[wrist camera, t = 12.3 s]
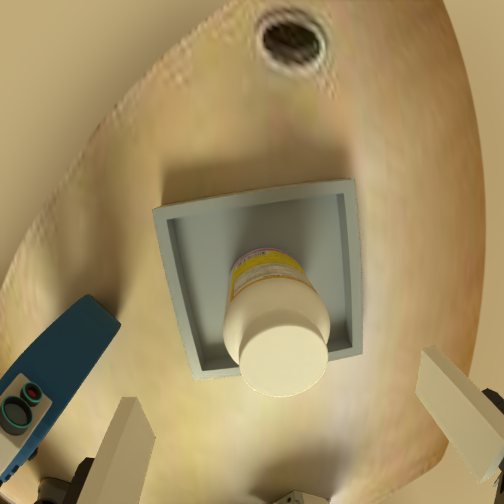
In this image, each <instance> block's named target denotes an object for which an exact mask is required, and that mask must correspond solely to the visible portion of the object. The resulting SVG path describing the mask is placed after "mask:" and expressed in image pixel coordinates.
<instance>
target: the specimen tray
mask: <svg viewBox="0 0 504 504" xmlns="http://www.w3.org/2000/svg"><path fill="white" fill-rule="evenodd" d="M152 213H153V218H154V223H155V228H156V233H157V238H158V243H159V247H160V252H161V257H162V261H163V266H164V270H165V274H166V279H167V283H168V287H169V291H170V295H171V299H172V303H173V307H174V311H175V315H176V319H177V323H178V326H179V330H180V334H181V337H182V341H183V345H184V348H185V352H186V355H187V359H188V362H189V365H190V369H191V372H192V375H193V379H194V380H206V379H216V378H225V377H234V376H242V375H241V372H240V368H239V365H238V364H237V363H236V362H235V361H234V360H233V359H232V357H231V356H230V354H229V353H228V351H227V348H226V346H225V343H224V338H223V323H224V315H225V306H226V297H227V287H228V280H229V275H230V272H231V270H232V268H233V266H234V265H235V264H236V262H237V261H238V260H239V259H240V258H241V257H242V256H244V255H245V254H247V253H249V252H251V251H253V250H256V249H260V248H274V249H278V250H281V251H284V252H286V253H287V254H289V255H290V256H292V257H293V258H294V259H295V260H296V261H297V262H298V264H299V265H300V267H301V268H302V270H303V271H304V273H305V274H306V276H307V278H308V279H309V281H310V282H311V284H312V286H313V287H314V289H315V290H316V292H317V293H318V295H319V296H320V298H321V300H322V301H323V303H324V305H325V307H326V309H327V311H328V315H329V320H330V334H329V338H328V342H327V344H326V346H327V349H328V361H333V360H338V359H342V358H347V357H351V356H356V355H360V354H362V351H363V305H362V272H361V253H360V237H359V224H358V212H357V202H356V192H355V183H354V179H346V178H340V179H331V180H323V181H314V182H306V183H298V184H291V185H283V186H276V187H269V188H262V189H255V190H249V191H242V192H236V193H229V194H223V195H217V196H211V197H205V198H199V199H194V200H188V201H183V202H177V203H172V204H166V205H161V206H159V207H157V208H154V209H152Z"/></svg>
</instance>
